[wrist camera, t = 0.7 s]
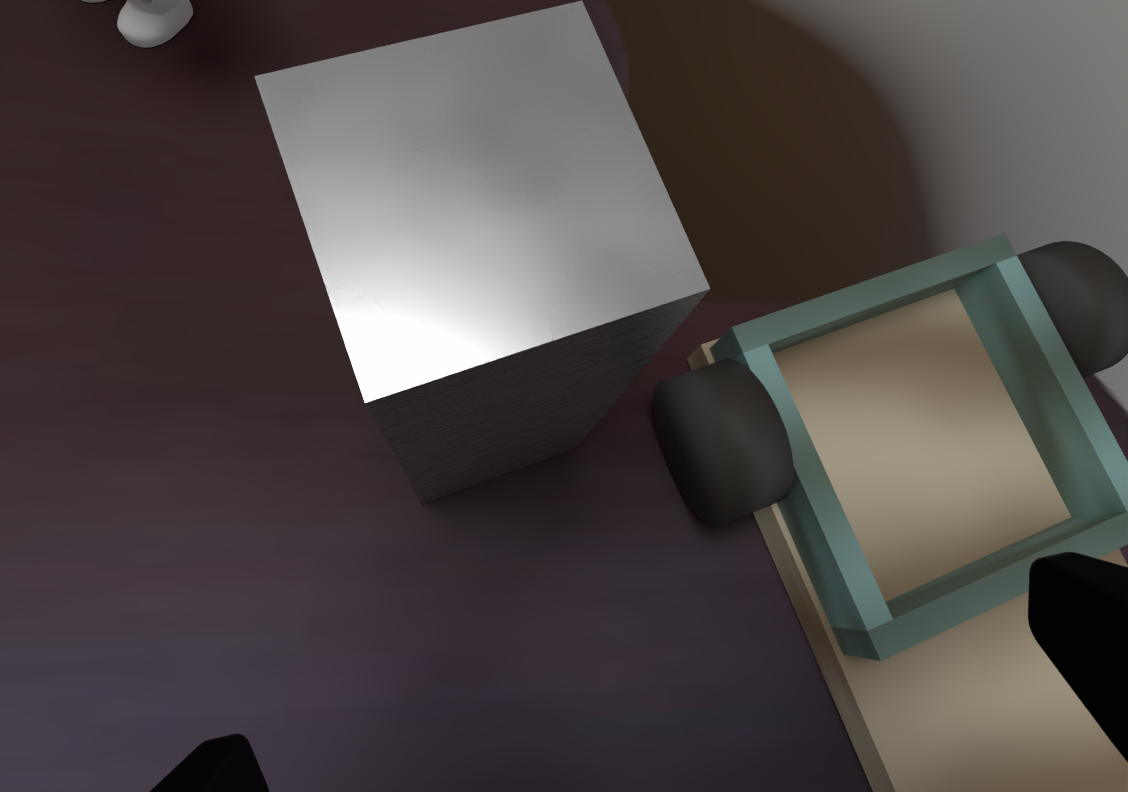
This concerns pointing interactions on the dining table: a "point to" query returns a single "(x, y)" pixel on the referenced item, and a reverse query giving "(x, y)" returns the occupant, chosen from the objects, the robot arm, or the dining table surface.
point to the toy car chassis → (926, 498)
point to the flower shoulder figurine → (152, 20)
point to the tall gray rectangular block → (484, 237)
